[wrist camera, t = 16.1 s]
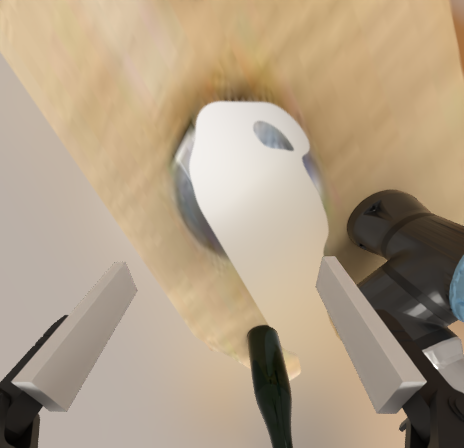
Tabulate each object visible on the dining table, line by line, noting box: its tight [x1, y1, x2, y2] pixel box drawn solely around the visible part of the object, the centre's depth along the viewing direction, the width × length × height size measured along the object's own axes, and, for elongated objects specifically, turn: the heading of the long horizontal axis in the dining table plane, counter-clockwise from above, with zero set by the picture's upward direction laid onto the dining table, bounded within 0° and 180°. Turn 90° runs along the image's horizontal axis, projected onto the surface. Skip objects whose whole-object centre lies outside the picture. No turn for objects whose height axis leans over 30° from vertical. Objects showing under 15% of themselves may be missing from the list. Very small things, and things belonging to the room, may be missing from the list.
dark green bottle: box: [248, 326, 293, 448], centre depth 49 cm, size 10×10×33 cm
